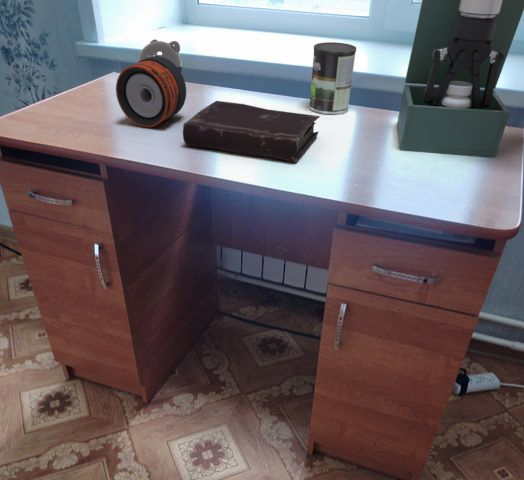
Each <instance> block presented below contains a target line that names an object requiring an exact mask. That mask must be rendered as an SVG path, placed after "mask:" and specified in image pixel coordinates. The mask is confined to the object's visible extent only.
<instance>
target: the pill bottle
mask: <svg viewBox="0 0 524 480" xmlns="http://www.w3.org/2000/svg"><path fill="white" fill-rule="evenodd" d="M472 87H473V85H472V84H471V83H468V82H464V81H450V83H449V85H448V87H447V89H446V91H445V92H446V93H447V95H445V96H443V97H442V99H441V102H440V106H439V107H452V108H467V109H469V108H470V104H471V100H470V98H469V97H468V96H469V95H470V94H471V91H472Z"/></svg>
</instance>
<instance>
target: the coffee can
mask: <svg viewBox="0 0 524 480" xmlns="http://www.w3.org/2000/svg"><path fill="white" fill-rule="evenodd" d="M357 49H358V48H357V47H356V46H355V45H353V44H350V43H346V42H334V41H330V42H329V41H328V42H319V43H316V44H314V45H313V59H312V71H311V84H310V97H309V106H308V107H309V110H310V111H311V112H314V113H317V114H321V115H331V116H333V115H335V116H336V115H342V114H345V113H347V112H348V111H349V106H350V105H349V104H350V96H351V89H352V82H353V74H354V66H355V59H356V52H357Z"/></svg>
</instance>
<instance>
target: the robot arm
mask: <svg viewBox="0 0 524 480" xmlns="http://www.w3.org/2000/svg"><path fill="white" fill-rule="evenodd" d="M502 1H503V0H460V5H459V9H458V10H459V11H460V12H461V14H459V15H458V16H457V17H456V22H455V26H454V30H453V35H452V39H451V41H450V43H449V44H448V46H447V47H445V48H441V49H438V48H435V49H434V50H433V63H432V67H431V70H430V74H429V77H428V81H427V84H425V86H426V88H425V91H424V95H423V101H424V103H425V104H428V105H430V106H438V107H439V105H438V103H439V101H440V100H441V98H442V96H443V94H444V92H445V91H446V89H447V87H448V85H449V83H450V81H451V80H452V78H453V76H454V75H455V74H456V72H457V70H463V69H466V70H469V71H471V78H472V85H473V87H472V104H473V106H472V107H470V108H469V109H481V108H484V107H486V108H487V107H489V106H490V103H491V99H492V94H493V90H494V91H495V89H494V85H495V81H496V76H497V71H498V67H499V65H500V64H501V62H502V60H503V58H504V55H503V54H502V53H501V52H500V51H498V52H497V51H494V50H492V47H491V41H492V38H493V34H494V30H495V27H496V23H497V18H496V17H495V15H497V14H498V13H499V12H500V9H501V5H502ZM447 53H448V55H449V58H450V60H451V63H450V65H449V67H448V69H447V72H446V73H445V75H444V77H443V79H442V81H441V83H440V84H439V85H437V87H438V88H437V90H436V92H435V94H434V96H433V97H431V94H432V91H433V87H434V86H435V85H434V84H435V81H436V77H437V74H438V70H439V67H440V61H442V60H443V59H444V56H445V54H447ZM488 56H490V59H489V61H490V63H491V64H490V67H489V71H488V76H487V81H486V86H485V88H484V89H483V90H484V95H483V100H480V89H481V88H480V64H481V63H482V62H483V61H484V60H485V59H486V58H487V57H488Z"/></svg>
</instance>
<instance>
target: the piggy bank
mask: <svg viewBox="0 0 524 480" xmlns="http://www.w3.org/2000/svg"><path fill="white" fill-rule="evenodd" d="M180 51H181V45H180V42H178V41H176V40H172V41H170V42H166V41H162V40H158V39H155V38H154V39H152V40H151V41H150V42H149V43H148V44H146V45H145V46H144V47H142V49H141V51H140V52H139V55H138V62H139V61H141V60H143V59H146V58H148V57H151V56H160V57H164V58H166V59H168V60H170V61H171V62H172V63H174V64H175V65H176V66H177V67H178V69H179V70H180V72H181V73H182V70H183V63H182V59H181V56H180Z"/></svg>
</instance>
